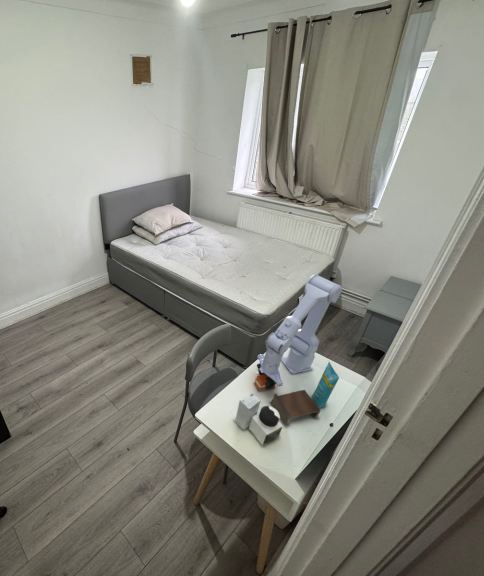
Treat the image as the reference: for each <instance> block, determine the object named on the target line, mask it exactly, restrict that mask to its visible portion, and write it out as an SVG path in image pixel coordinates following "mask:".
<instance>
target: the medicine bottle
mask: <svg viewBox="0 0 484 576" xmlns="http://www.w3.org/2000/svg"><path fill="white" fill-rule="evenodd" d="M280 420H281V418H280V415H279V413H278V411H277V410H276V409H275V408H274V407H273V406H272V405H271V406H270V405H264V406H262V407H261V408H260V411H259V413H257V415H255V416H253V417H252V419H251V423H250V426H249V427H248V429H249V431H250V432H251V433H252V434H253V436H254V437H255V438H256V439H257V441H258V442H259V443H260V444H261V446H265V445H267V444H269V443H271V442H273V441H274V440H276V439H278V438H279V437H280V434H281V432H282V429H283V426H284V424H282V423H281V422H280Z"/></svg>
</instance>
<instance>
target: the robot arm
mask: <svg viewBox="0 0 484 576" xmlns="http://www.w3.org/2000/svg"><path fill="white" fill-rule="evenodd" d="M342 292H343V288H342V285H341V284H338V283H335V282H333V281H331V280H329V279H327V278H324V277H322V276H320V275H319V274H317V273H316V274H313V275H311V276H310V277H309V278H308V279H307V281H306V283H305V286H304V296H302V299H301V300H300V302H299V303H298V305H297V306H296V308H295V310H294V311H293V313H292V315H289V316H286V317H285V318H284V320H283V321H282V323H281V324H280V325H279V326H278V327H277V329H276V330H275V332H271V333H269V335H268V336H267V338H266V340H265V342H264V343H265V349H266V351H265V355H264V354H263V353H260V354H257V357H256V358H257V360H258V361H259V363H257V364H256V368H257V371H258V375H263V374H266V375H268V376H269V377H266V378H265V379H266V390H271V389H273V388H272V387H273V386H274V385H275V384H276V386H275V387H277V388H280V387H283V385H284V382H283V379H282V377H281V373H280V369H279V368H280V367H281V363H283V364H284V366H285V367H286V368H287V370H289V372H290V374H292V375H293V374H297V373H298V374H299V373H303V372H308V371H312V370H313V368H312V365H313V363H314V360H315V358H316V356H315V354H316V353H317V351H318V348H319V344H320V340H319V338H318V337H317V335H316V332H317V330H318V328H319V326H320V324H321V322H322V320H323V318H324V316H325V314H326V312H327V311H328V308H329V306H330V304H331V303H334V304H336V302H337V301H338V300H339V298H340V296H341V293H342ZM304 319H305V320H304ZM303 320H304V322H303ZM302 322H303V325H302ZM288 350H289V351H288ZM287 351H288V354H287V356H286V357H285V358H283V356H284V353H286V352H287Z"/></svg>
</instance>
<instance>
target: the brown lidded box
mask: <svg viewBox="0 0 484 576" xmlns="http://www.w3.org/2000/svg"><path fill="white" fill-rule="evenodd" d="M311 398H312V396H310V395H309V393H308V392H307V391H306V390H305V389H301V390H297V391H292V392H288V393H283V394H277V393H274V394H273V397H272V400H271V402H270V405H271V407H273V408H275V409H276V410H277V411H278V413H279V415H280V420H281V421H282V423H283V426H287V425H288V424H289V421H290V420H291V419H293V418H297V417H302V416H306V415H310V414H311V416H312V417H313V419H316V418H318V417H319V414H320V412H321V408H319V407H318V406H317V405H316V404H315V402H314V401H313V400H312V399H311Z"/></svg>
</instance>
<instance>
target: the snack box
mask: <svg viewBox="0 0 484 576" xmlns="http://www.w3.org/2000/svg"><path fill="white" fill-rule="evenodd" d="M266 377H269V376H268V375H266V374H263V375H259V374H258V375H256V377H255V380H254V386H255V387H256V389H257V390H258V391H259V392H261V391H264V390H266V391H267V389H266V379H265V378H266ZM276 387H277V386H276V384H275V385H274V386H273V387H272V388H271V389H275V388H276Z"/></svg>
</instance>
